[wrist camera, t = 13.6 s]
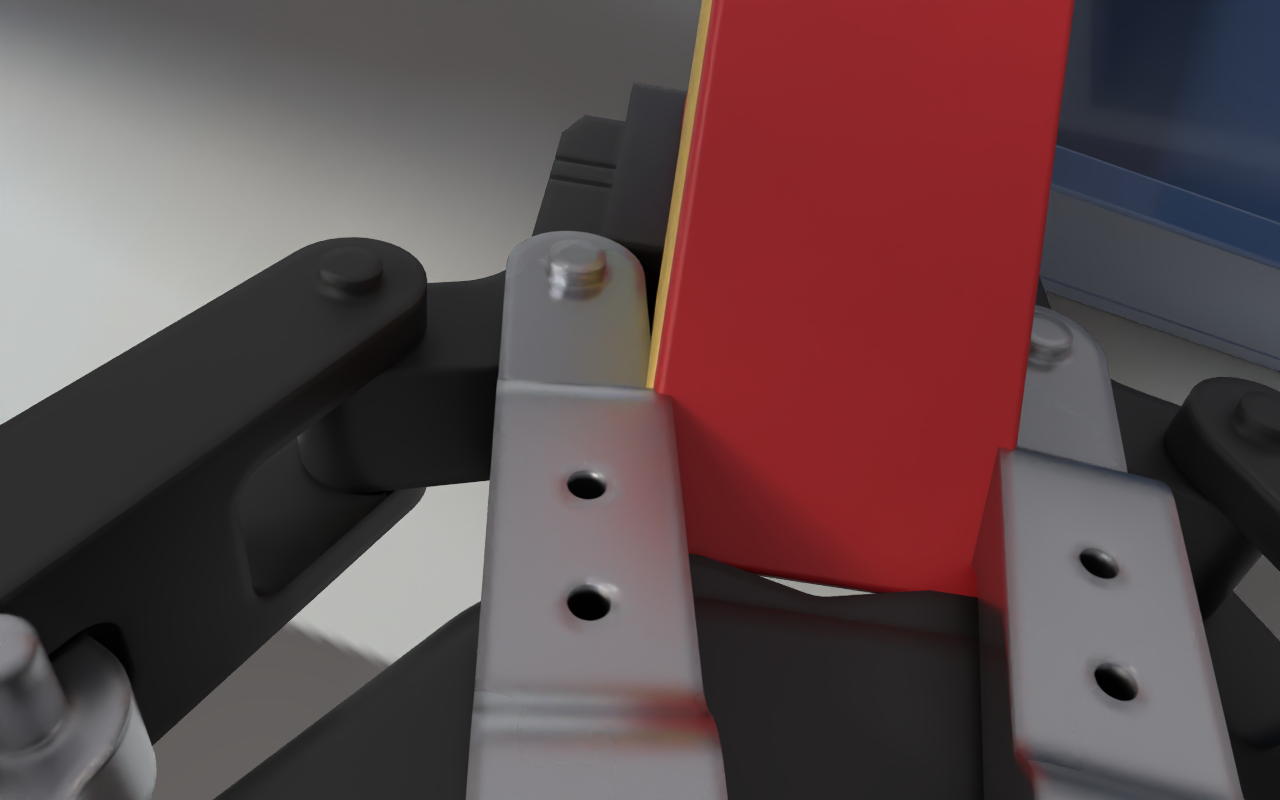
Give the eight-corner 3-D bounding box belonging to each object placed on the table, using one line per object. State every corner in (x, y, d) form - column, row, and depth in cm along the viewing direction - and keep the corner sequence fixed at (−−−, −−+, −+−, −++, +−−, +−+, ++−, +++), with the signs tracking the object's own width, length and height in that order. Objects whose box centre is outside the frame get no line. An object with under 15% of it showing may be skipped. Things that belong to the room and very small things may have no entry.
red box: (612, 504, 17) (622, 563, 7) (658, 204, 17) (724, -117, 8) (779, 529, 17) (1006, 622, 7) (822, 231, 17) (1093, -54, 8)
